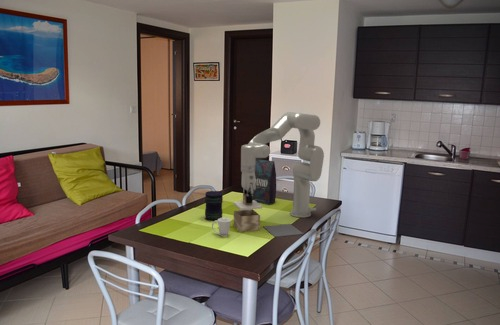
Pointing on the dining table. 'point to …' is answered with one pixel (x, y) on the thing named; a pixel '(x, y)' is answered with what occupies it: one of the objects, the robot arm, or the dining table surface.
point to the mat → (282, 230)
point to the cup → (223, 226)
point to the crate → (246, 220)
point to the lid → (247, 204)
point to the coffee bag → (265, 182)
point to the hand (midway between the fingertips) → (247, 201)
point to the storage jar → (213, 205)
